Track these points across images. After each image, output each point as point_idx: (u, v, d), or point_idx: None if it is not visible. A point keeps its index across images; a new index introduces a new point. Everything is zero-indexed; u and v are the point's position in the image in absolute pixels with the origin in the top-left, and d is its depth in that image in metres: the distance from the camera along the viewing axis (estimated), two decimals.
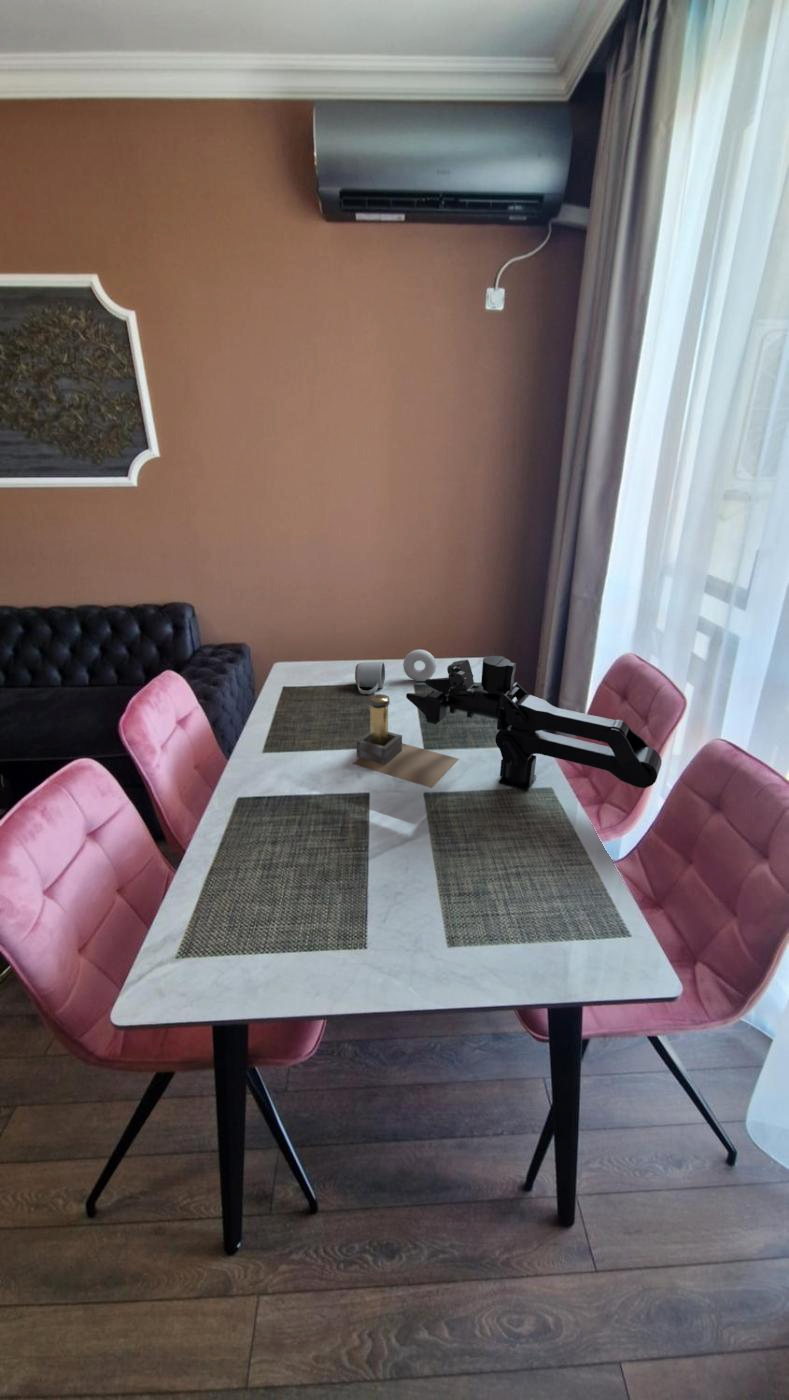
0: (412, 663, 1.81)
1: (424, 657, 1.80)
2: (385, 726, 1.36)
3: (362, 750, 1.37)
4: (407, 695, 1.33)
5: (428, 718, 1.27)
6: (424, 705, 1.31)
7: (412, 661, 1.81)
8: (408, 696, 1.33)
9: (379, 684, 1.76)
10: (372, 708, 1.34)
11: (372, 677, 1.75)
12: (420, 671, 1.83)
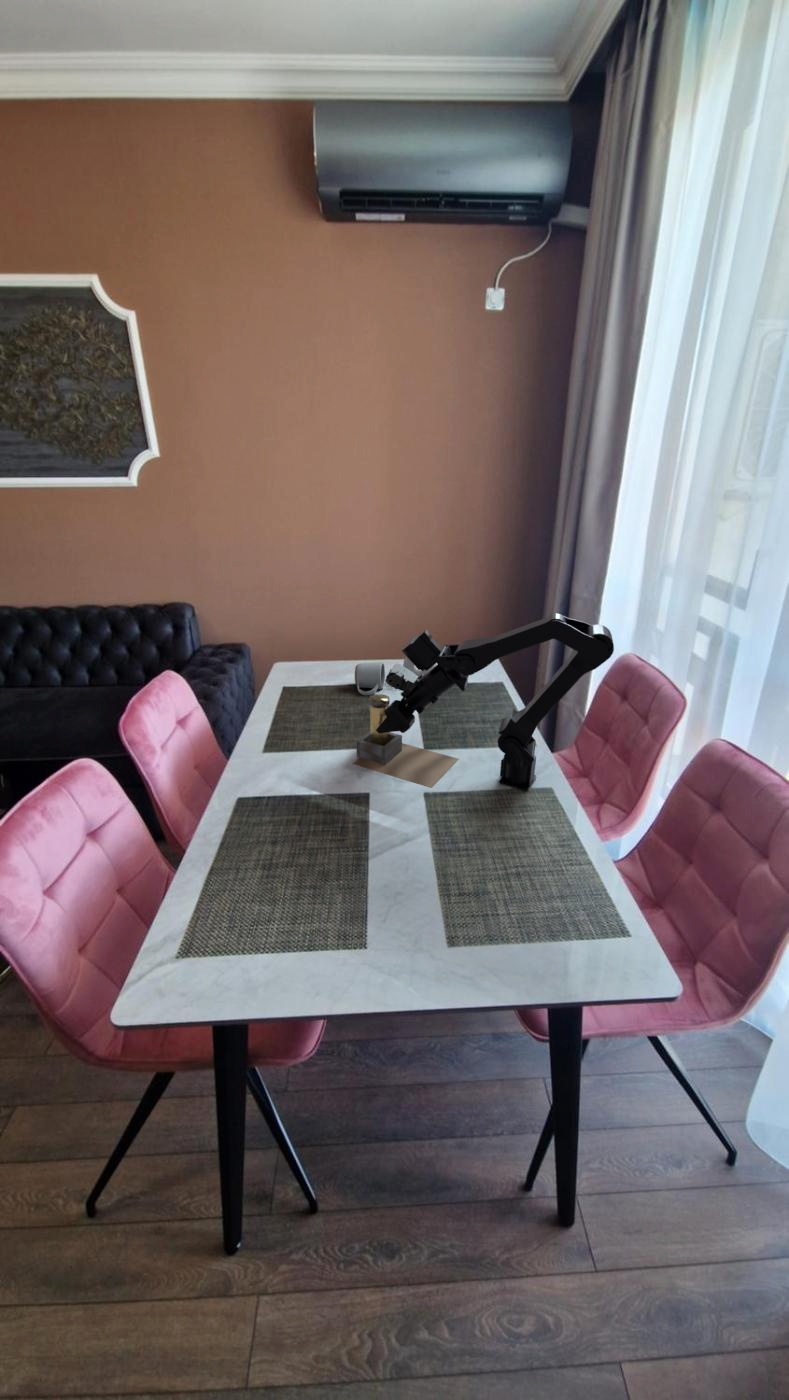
0: (412, 663, 1.81)
1: None
2: None
3: (362, 750, 1.37)
4: (377, 730, 1.32)
5: (400, 728, 1.25)
6: (393, 724, 1.29)
7: None
8: (378, 730, 1.32)
9: (379, 685, 1.76)
10: (372, 708, 1.34)
11: (372, 678, 1.75)
12: (420, 671, 1.83)
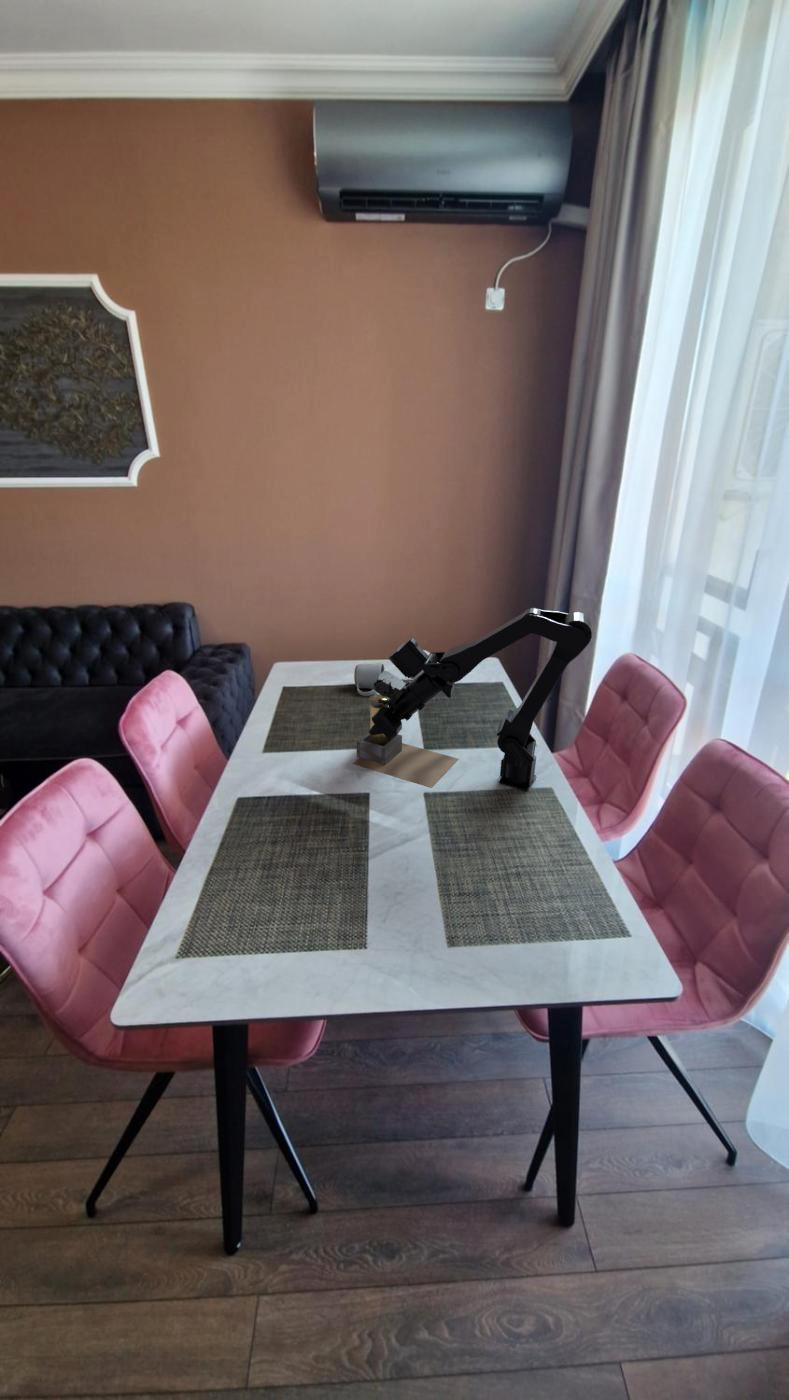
0: None
1: None
2: None
3: (362, 750, 1.37)
4: (370, 732, 1.36)
5: (387, 735, 1.26)
6: None
7: None
8: (371, 732, 1.36)
9: None
10: (372, 708, 1.34)
11: (371, 678, 1.74)
12: None
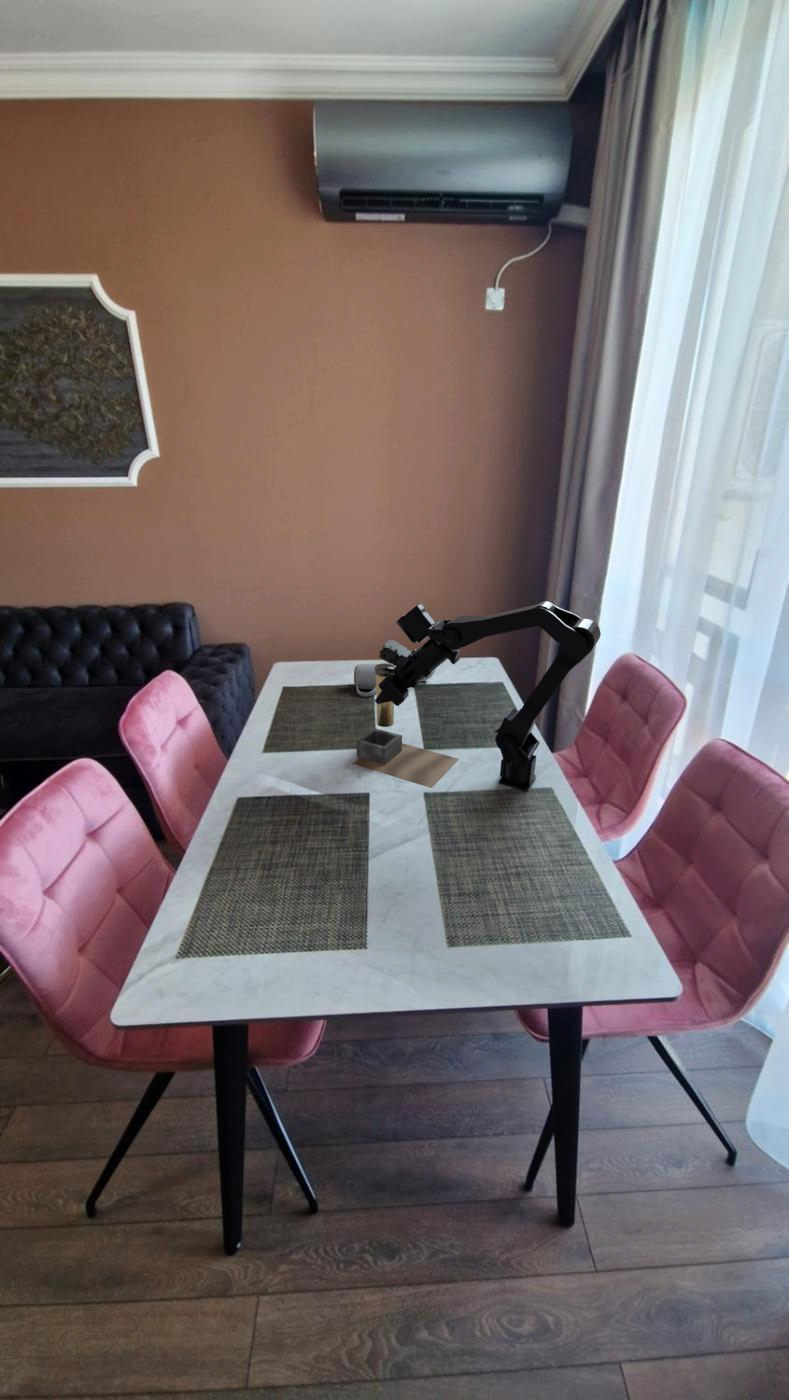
0: None
1: None
2: None
3: (362, 750, 1.37)
4: (376, 701, 1.37)
5: (394, 701, 1.28)
6: None
7: None
8: (377, 701, 1.37)
9: None
10: (378, 677, 1.35)
11: (371, 679, 1.74)
12: None
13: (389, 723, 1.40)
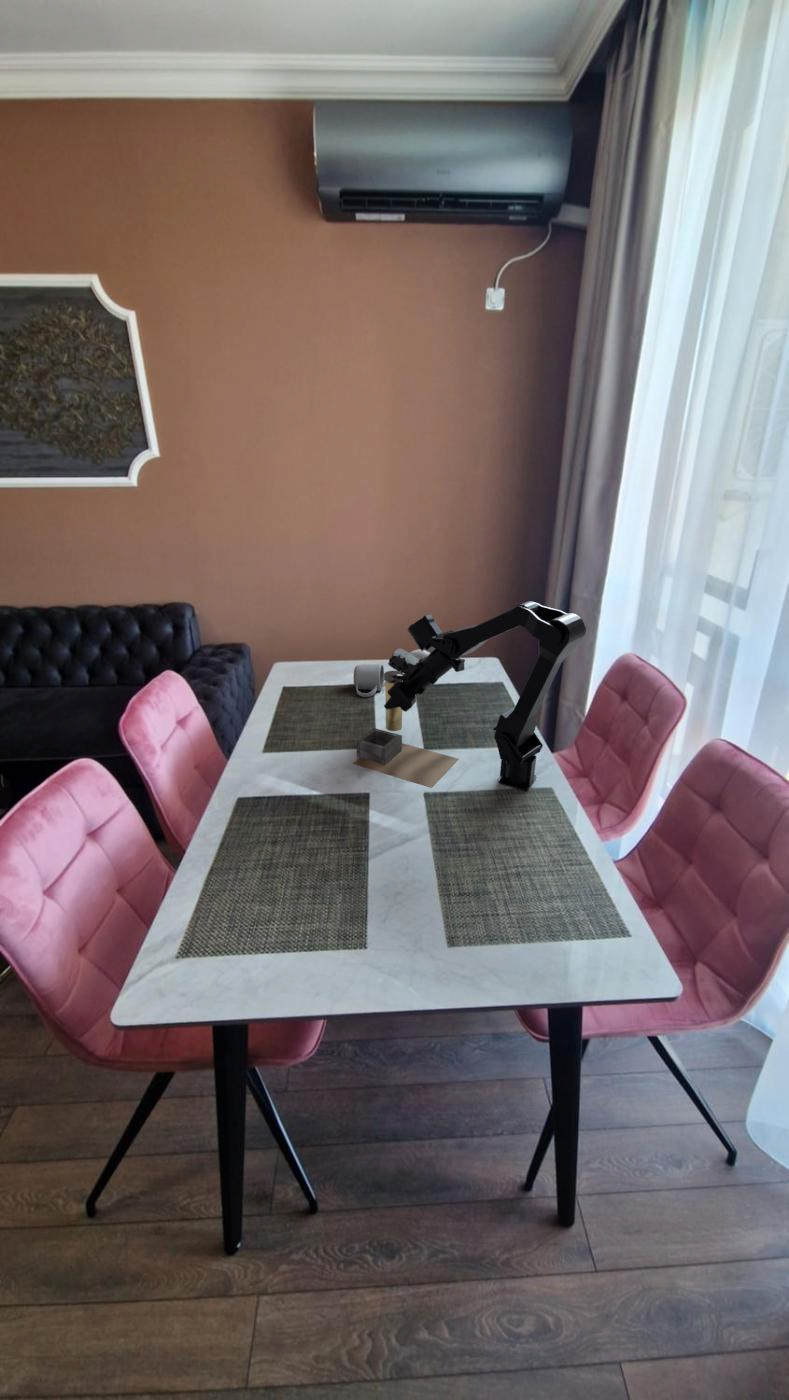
0: None
1: None
2: None
3: (362, 750, 1.37)
4: (385, 706, 1.44)
5: (402, 707, 1.34)
6: None
7: None
8: (386, 706, 1.44)
9: (378, 686, 1.74)
10: (387, 683, 1.42)
11: (371, 679, 1.74)
12: None
13: (397, 727, 1.46)
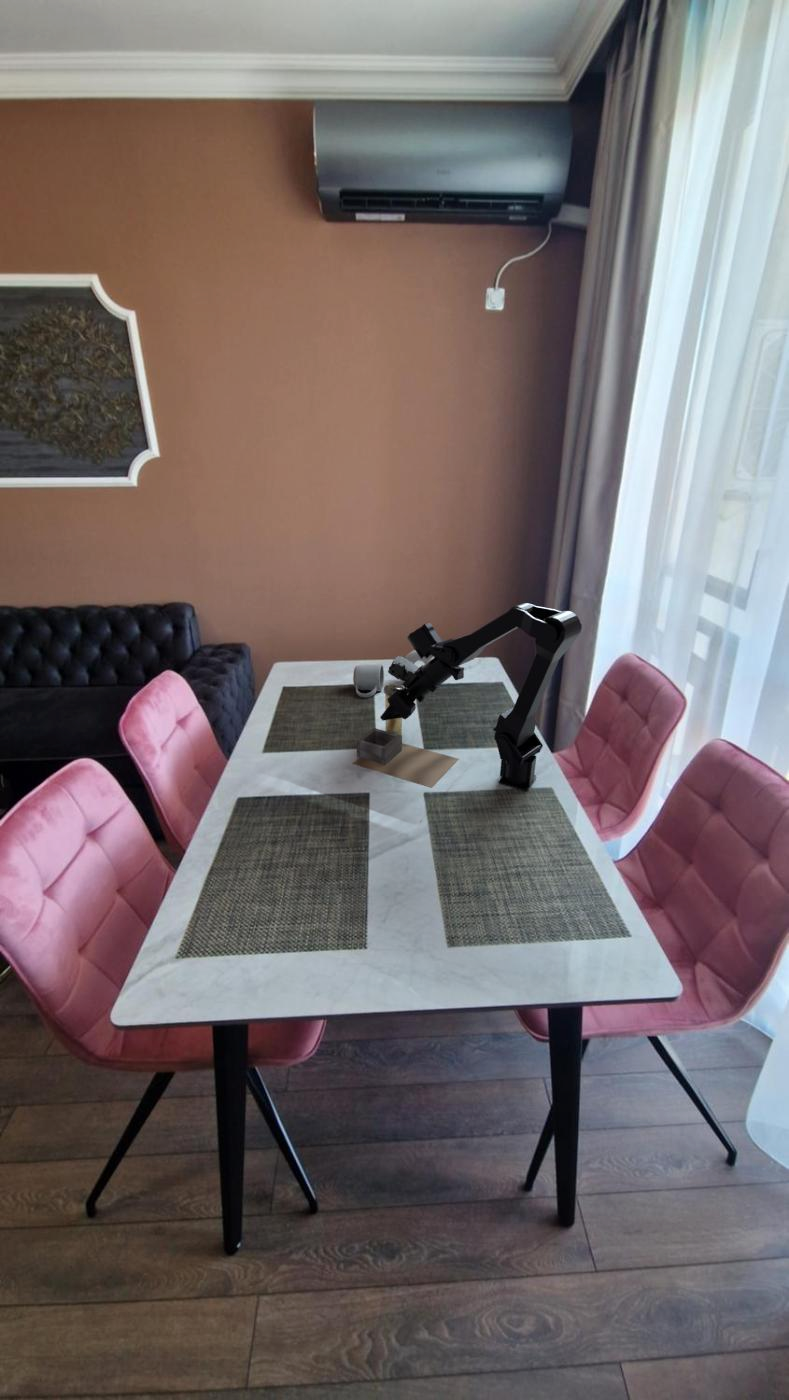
0: None
1: None
2: None
3: (362, 750, 1.37)
4: (381, 717, 1.43)
5: (402, 715, 1.35)
6: (396, 711, 1.40)
7: (412, 661, 1.81)
8: (382, 717, 1.43)
9: (378, 687, 1.74)
10: (387, 696, 1.44)
11: (370, 680, 1.73)
12: None
13: None
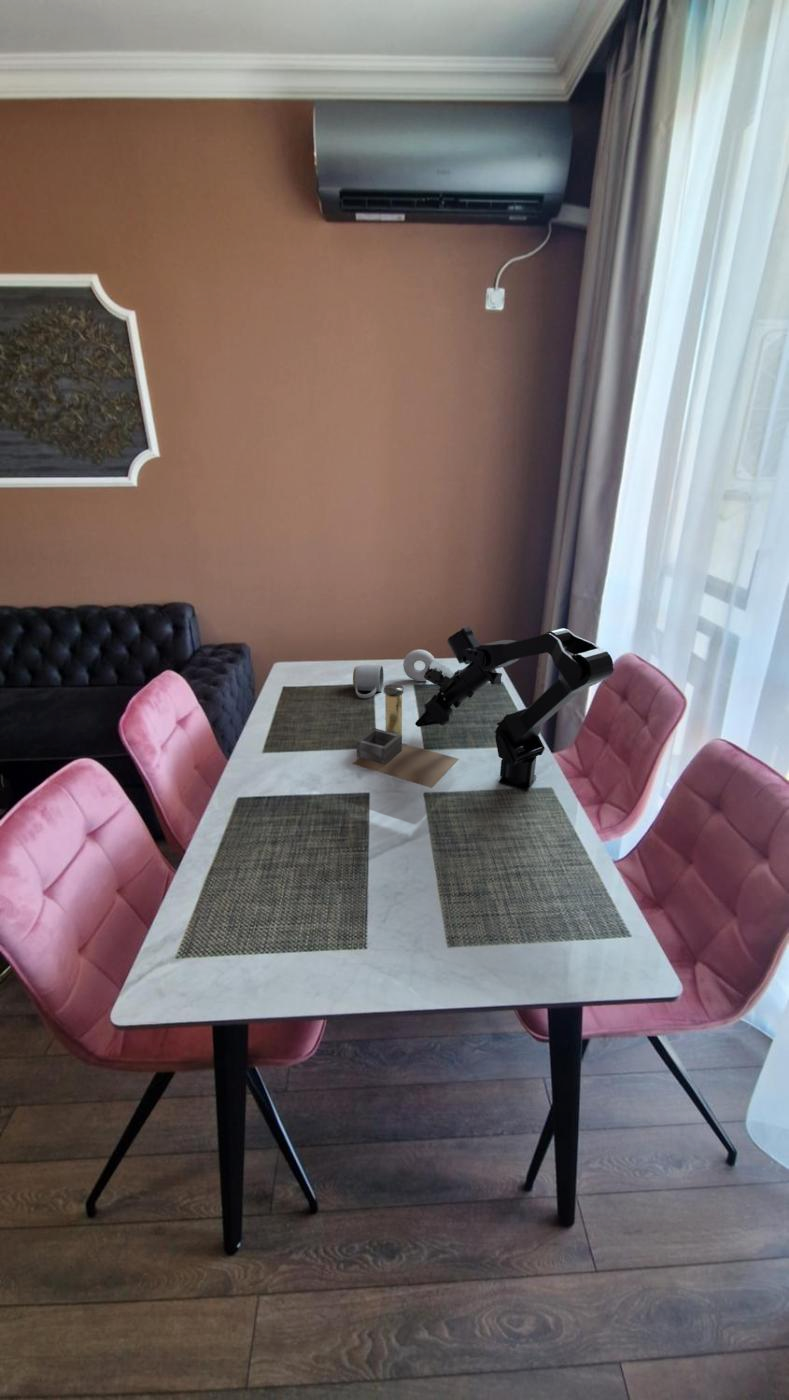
0: (412, 663, 1.81)
1: (424, 657, 1.80)
2: (399, 713, 1.45)
3: (362, 750, 1.37)
4: (416, 724, 1.40)
5: (439, 721, 1.33)
6: (432, 718, 1.37)
7: (412, 661, 1.81)
8: (417, 724, 1.40)
9: (377, 688, 1.74)
10: (387, 697, 1.43)
11: (370, 681, 1.73)
12: (420, 671, 1.83)
13: None
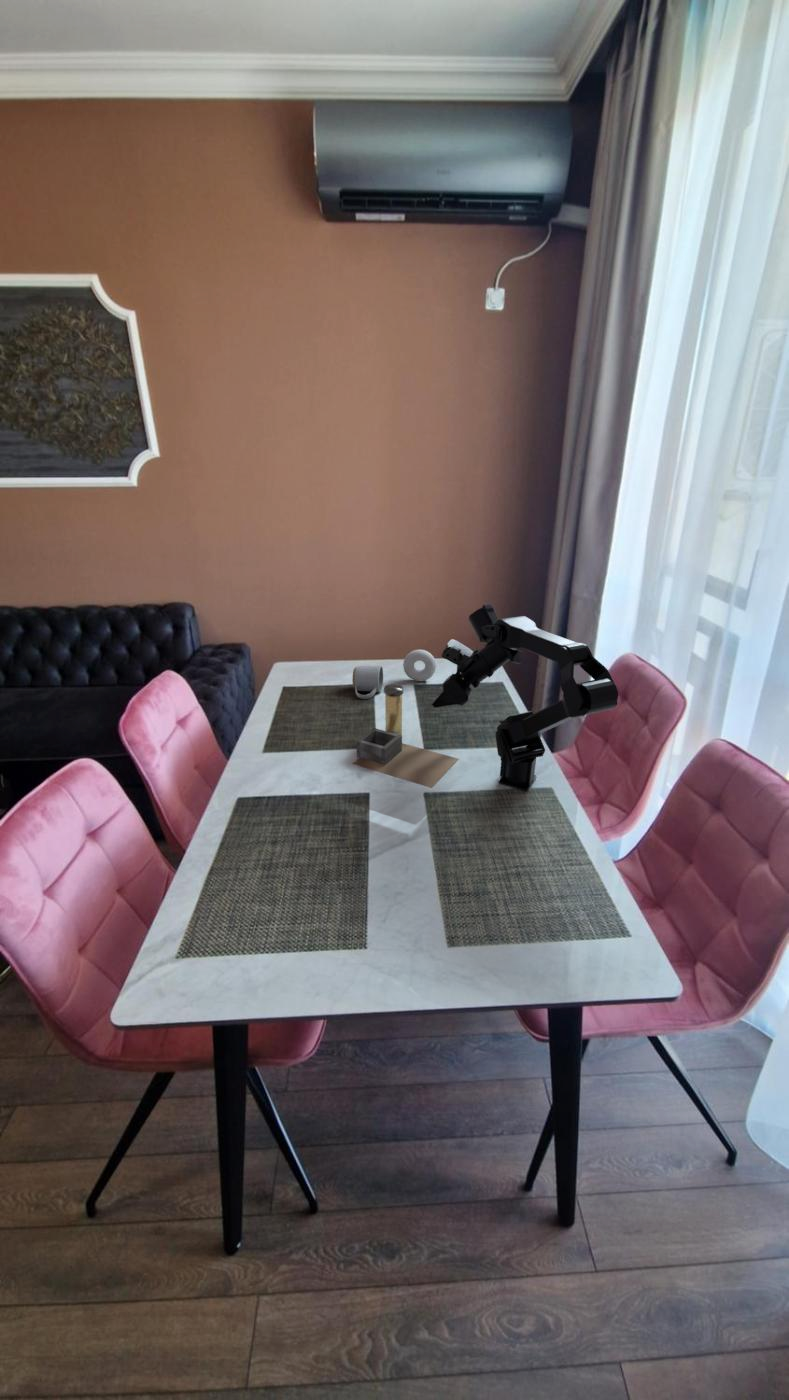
0: (412, 663, 1.81)
1: (424, 657, 1.80)
2: (399, 713, 1.45)
3: (362, 750, 1.37)
4: (433, 704, 1.35)
5: (458, 700, 1.28)
6: (450, 698, 1.32)
7: (412, 661, 1.81)
8: (434, 704, 1.35)
9: (377, 688, 1.73)
10: (387, 697, 1.43)
11: (370, 681, 1.73)
12: (420, 671, 1.83)
13: None
